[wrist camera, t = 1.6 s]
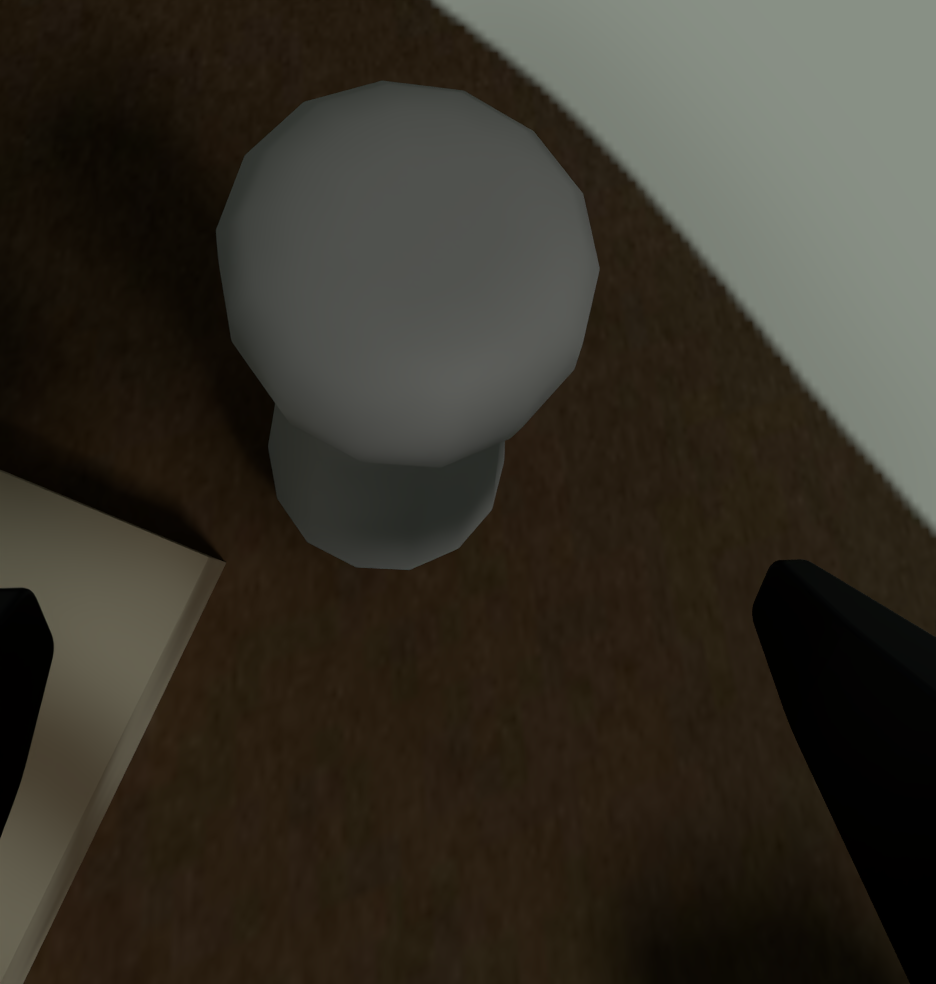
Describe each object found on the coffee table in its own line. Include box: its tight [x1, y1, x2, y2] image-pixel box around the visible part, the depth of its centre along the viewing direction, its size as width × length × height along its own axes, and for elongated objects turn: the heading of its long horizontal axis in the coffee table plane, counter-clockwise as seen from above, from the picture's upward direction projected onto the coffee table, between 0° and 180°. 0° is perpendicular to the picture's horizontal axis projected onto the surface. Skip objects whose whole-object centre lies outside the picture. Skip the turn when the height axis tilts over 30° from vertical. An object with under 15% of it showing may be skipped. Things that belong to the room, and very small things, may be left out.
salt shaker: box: [216, 81, 599, 570], centre depth 13 cm, size 6×6×13 cm
